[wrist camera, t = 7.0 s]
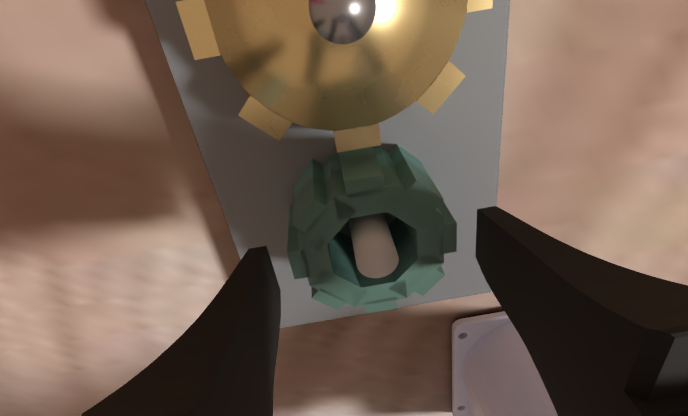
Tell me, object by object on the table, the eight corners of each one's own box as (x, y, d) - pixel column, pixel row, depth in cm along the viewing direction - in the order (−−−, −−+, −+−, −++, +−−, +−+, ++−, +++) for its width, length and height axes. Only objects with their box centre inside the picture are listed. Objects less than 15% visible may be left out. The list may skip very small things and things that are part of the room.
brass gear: (464, 107, 14) (500, 138, 11) (240, 146, 14) (226, 186, 11) (469, -211, 10) (528, -275, 7) (147, -155, 10) (92, -199, 7)
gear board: (478, 271, 20) (525, 351, 16) (268, 308, 20) (259, 397, 16) (500, -220, 11) (627, -342, 7) (108, -151, 11) (-17, -230, 7)
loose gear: (433, 250, 17) (456, 298, 15) (306, 271, 17) (307, 324, 15) (429, 127, 14) (457, 162, 12) (276, 154, 14) (270, 194, 12)
